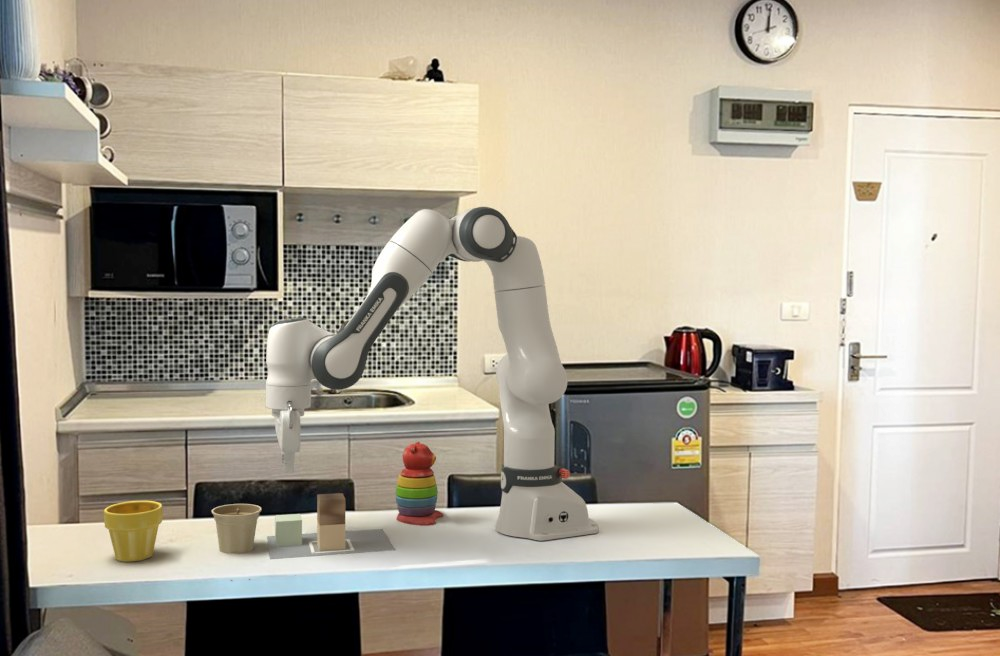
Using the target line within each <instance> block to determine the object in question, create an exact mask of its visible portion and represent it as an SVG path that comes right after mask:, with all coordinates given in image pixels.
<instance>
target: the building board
mask: <svg viewBox="0 0 1000 656" xmlns="http://www.w3.org/2000/svg"><path fill="white" fill-rule="evenodd" d="M316 520H317V519H316ZM316 523H317V524H316V529H317V530H316V532H312V533H311V532H310V533H302V545H293V546H278V547H276V542H275V535H268V536H266V539H267V546H268V554H269V555H268V556H269V560H279V559H293V558H307V557H320V556H334V555H347V554H361V553H363V554H364V553H376V552H389V551H390V552H391V551H396V548H395V546H394V545H393V543H392V542H391V540H390V538H389V537H388V535H387V533H386V532H385V530H384V528H374V529H373V528H372V529H358V530H357V529H356V530H346V523H345V524H337V525H322V526H320V525H319V523H318V520H317V521H316Z"/></svg>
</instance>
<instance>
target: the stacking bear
mask: <svg viewBox="0 0 1000 656" xmlns="http://www.w3.org/2000/svg"><path fill="white" fill-rule="evenodd" d="M436 459H437V456H436V455H435V453H433V452H432V450H431V449H430V448H429V446H428V445H426V444H424V443H421V442H420V441H416V442H415V443H412V444H411V443H410V444H409V445H407V446H406V447H405V448H404V450H403V451H402V462H403V466H404V467H405V468H403V469H402V470H401V471H400V474H399V475H398V478H397V483H396V484H397V485H396V487H395V501H396V504H397V505H396V506H397V510H398V514H397V516H396V521H397V522H399V523H403V524H406V525H412V526H422V527H426V526H427V527H428V526H429V527H430V526H434V525H435V524H437V522H436V520H438V519H442V518H443V517H444V513H443V512H442V511H440V510H436V506H437V500H438V485H437V481H436V476H435V473H434V470H433V469H431V468H432V467H433V466H434V465H435V462H436Z"/></svg>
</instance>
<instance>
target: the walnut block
mask: <svg viewBox="0 0 1000 656" xmlns="http://www.w3.org/2000/svg"><path fill="white" fill-rule="evenodd" d="M316 499H317V502H316V504H317V505H316V507H317V509H316V511H317V513H316V514H317V515H316V517H317V518H316V520H318V523H319V525H320V526H322V525H337V524H345V525H346V498H345V495H344V493H343V492H342V493H341V492H336V493H321V494H320V493H319V494H317V495H316Z"/></svg>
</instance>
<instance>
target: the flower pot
mask: <svg viewBox="0 0 1000 656" xmlns="http://www.w3.org/2000/svg"><path fill="white" fill-rule="evenodd" d="M262 510H263V509H262V507H261V506H259V505H256V504H251V503H233V504H224V505H219V506H216V507H214V508H213V509H211V514H212V515H213V519H214V521H215V525H216V534H217V541H218V542H217V543H218V549H219V552H221V553H223V554H230V555H232V554H235V555H237V554H244V553H247V552H250V551H252V550H253V549H254V544H255V536H256V529H257V524H258V519H259V517H260V513H261V512H262Z"/></svg>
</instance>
